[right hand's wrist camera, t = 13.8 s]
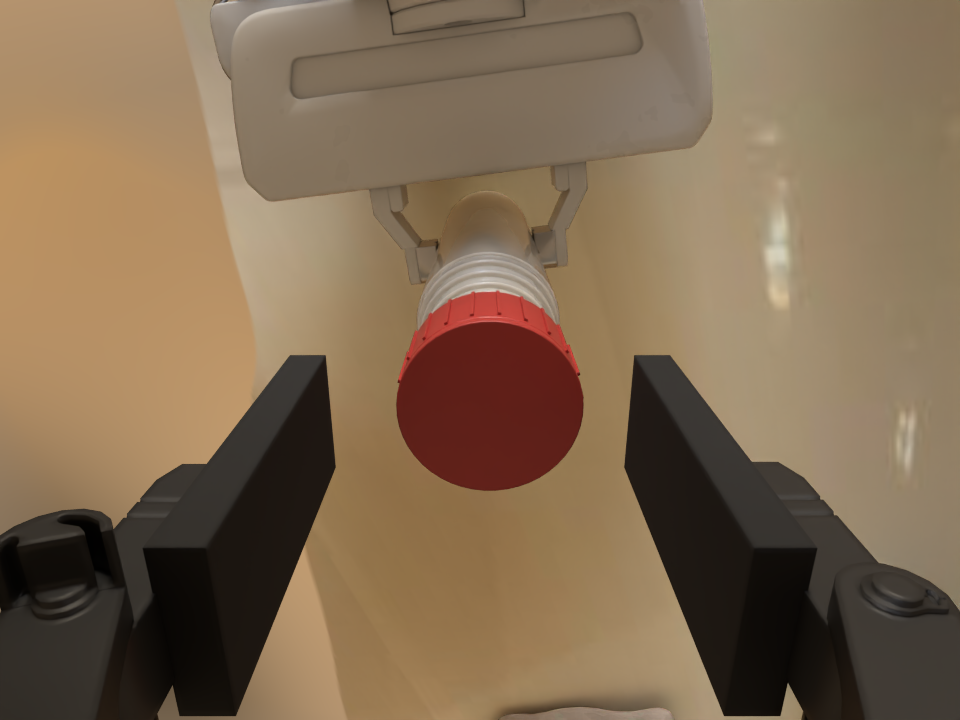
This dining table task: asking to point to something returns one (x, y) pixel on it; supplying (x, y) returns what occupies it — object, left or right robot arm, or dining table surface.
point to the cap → (489, 392)
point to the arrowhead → (594, 714)
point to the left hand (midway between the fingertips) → (489, 273)
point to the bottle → (486, 256)
